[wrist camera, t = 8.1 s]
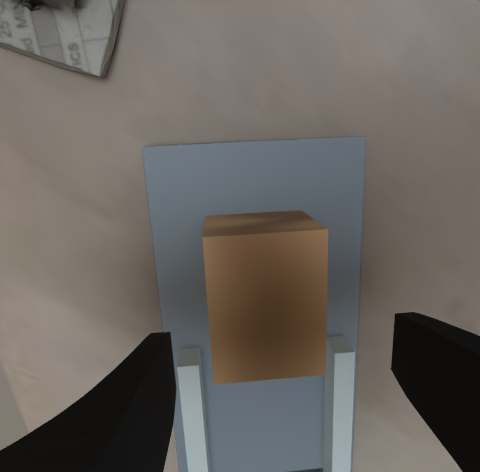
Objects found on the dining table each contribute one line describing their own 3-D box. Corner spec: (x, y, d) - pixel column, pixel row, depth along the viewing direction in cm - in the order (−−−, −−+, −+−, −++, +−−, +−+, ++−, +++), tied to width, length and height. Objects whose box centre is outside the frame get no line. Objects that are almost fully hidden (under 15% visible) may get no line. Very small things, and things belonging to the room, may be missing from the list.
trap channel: (357, 136, 17) (381, 134, 14) (343, 530, 23) (358, 576, 20) (146, 146, 16) (134, 146, 14) (191, 548, 22) (188, 596, 20)
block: (301, 210, 16) (328, 229, 12) (301, 325, 18) (326, 374, 14) (205, 215, 16) (202, 237, 12) (213, 332, 17) (213, 384, 14)
